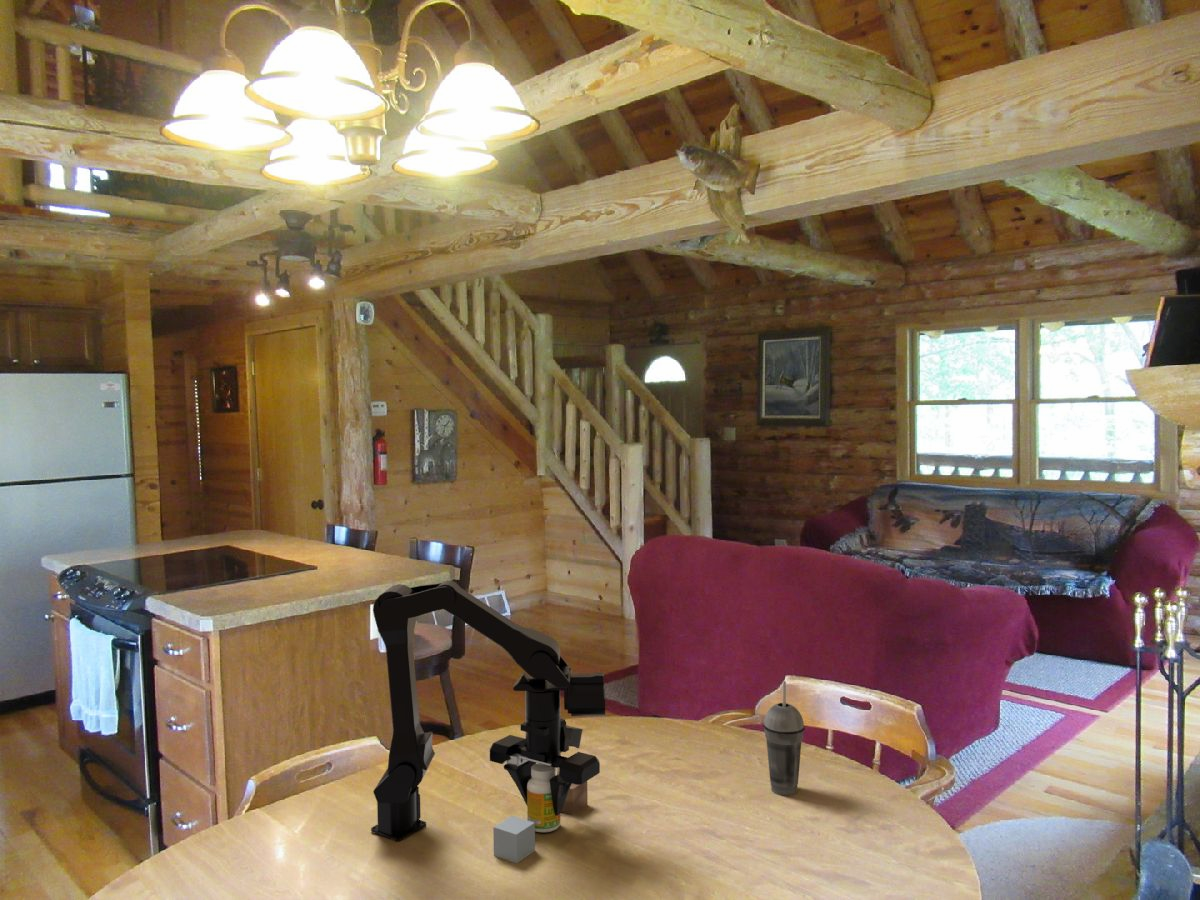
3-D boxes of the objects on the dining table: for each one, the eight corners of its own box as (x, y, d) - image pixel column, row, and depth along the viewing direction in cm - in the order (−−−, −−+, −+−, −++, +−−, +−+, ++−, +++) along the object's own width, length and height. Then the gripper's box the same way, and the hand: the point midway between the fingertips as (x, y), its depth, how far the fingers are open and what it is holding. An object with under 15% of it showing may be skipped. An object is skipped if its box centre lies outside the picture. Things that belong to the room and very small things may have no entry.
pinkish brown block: (572, 815, 144) (572, 789, 144) (551, 809, 147) (550, 783, 147) (587, 805, 148) (587, 779, 148) (566, 799, 151) (566, 773, 150)
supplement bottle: (545, 836, 136) (545, 776, 136) (520, 827, 139) (519, 768, 139) (567, 823, 140) (566, 765, 140) (542, 815, 144) (541, 757, 143)
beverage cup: (802, 782, 156) (801, 673, 156) (807, 799, 149) (807, 686, 148) (761, 781, 157) (761, 673, 156) (765, 798, 150) (764, 685, 149)
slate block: (516, 864, 129) (516, 834, 129) (493, 855, 131) (493, 827, 131) (535, 851, 132) (534, 822, 132) (512, 843, 135) (511, 815, 135)
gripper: (617, 711, 141) (618, 805, 141) (528, 693, 151) (529, 780, 152) (579, 732, 132) (580, 832, 132) (486, 711, 142) (487, 803, 142)
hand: (543, 810), depth 140 cm, fingers closed on supplement bottle, 5 cm apart
